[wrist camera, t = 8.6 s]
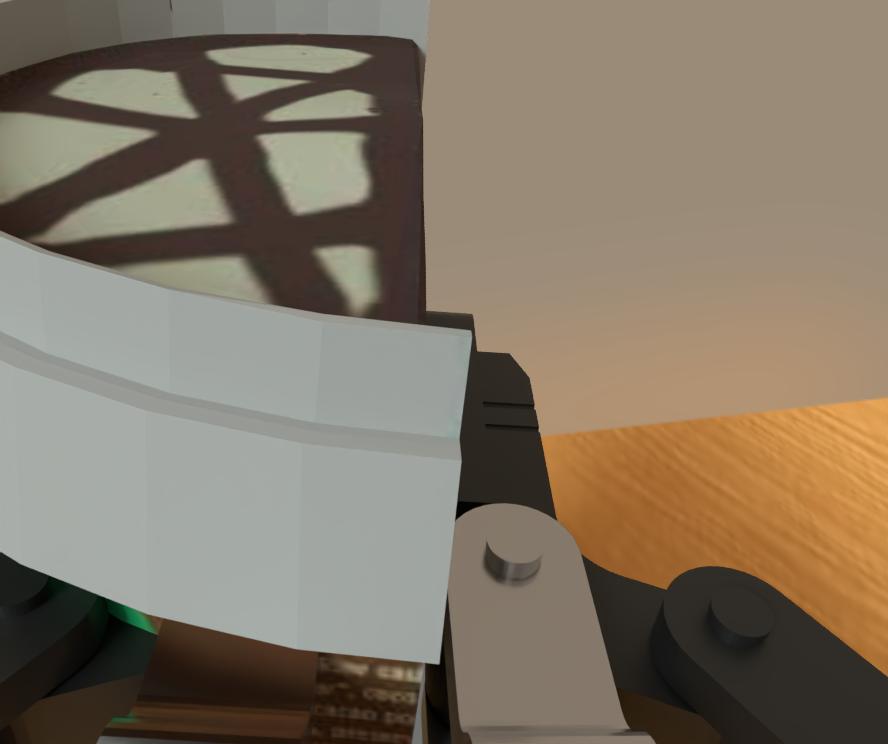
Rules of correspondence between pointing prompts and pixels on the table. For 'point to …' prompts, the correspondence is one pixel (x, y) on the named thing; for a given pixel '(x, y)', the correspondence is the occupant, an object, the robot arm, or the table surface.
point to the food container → (231, 330)
